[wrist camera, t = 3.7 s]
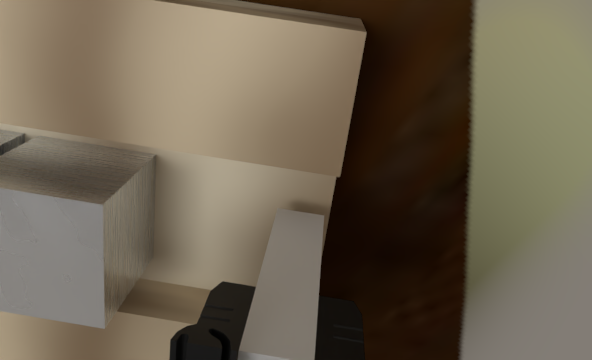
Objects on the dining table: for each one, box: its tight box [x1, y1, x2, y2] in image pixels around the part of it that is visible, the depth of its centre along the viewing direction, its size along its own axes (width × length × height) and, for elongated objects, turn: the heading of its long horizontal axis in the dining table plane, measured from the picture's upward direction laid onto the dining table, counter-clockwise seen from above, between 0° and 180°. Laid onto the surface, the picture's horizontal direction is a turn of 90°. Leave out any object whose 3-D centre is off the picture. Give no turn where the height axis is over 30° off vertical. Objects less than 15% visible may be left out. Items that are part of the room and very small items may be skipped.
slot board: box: [0, 0, 367, 360], centre depth 18 cm, size 16×14×4 cm
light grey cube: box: [0, 136, 156, 329], centre depth 16 cm, size 4×4×4 cm
